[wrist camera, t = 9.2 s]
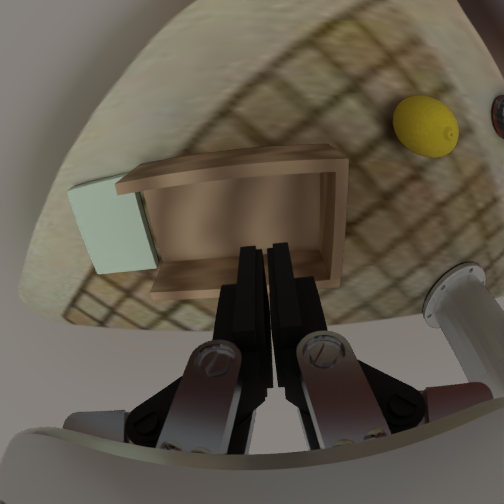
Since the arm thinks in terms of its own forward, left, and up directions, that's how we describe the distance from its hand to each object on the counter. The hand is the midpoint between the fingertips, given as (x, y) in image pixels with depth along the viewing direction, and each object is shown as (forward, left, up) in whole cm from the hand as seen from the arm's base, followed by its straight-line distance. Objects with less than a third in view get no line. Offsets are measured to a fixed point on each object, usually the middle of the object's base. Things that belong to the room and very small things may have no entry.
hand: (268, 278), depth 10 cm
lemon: (-10, -12, -18) cm, 23 cm away
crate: (-1, +5, -17) cm, 18 cm away
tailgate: (+7, +11, -17) cm, 21 cm away
